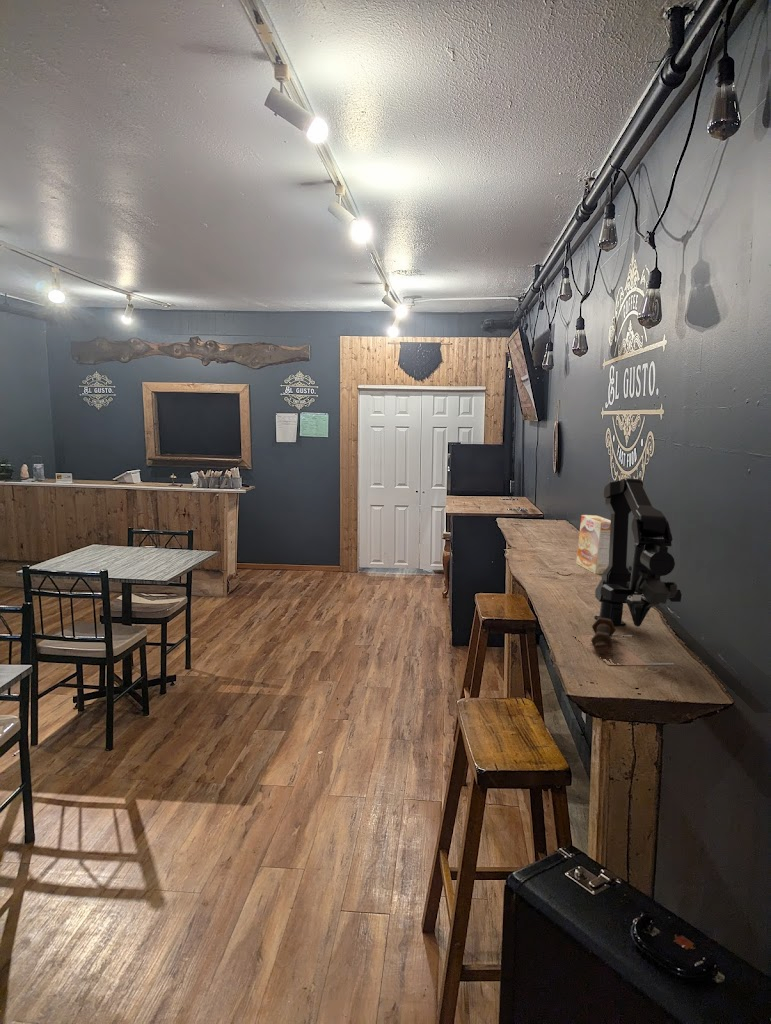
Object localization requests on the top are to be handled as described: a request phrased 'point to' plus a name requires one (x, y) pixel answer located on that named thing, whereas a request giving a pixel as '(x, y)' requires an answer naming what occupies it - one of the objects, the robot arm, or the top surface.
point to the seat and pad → (617, 653)
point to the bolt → (602, 634)
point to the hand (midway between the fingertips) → (636, 626)
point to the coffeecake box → (594, 543)
